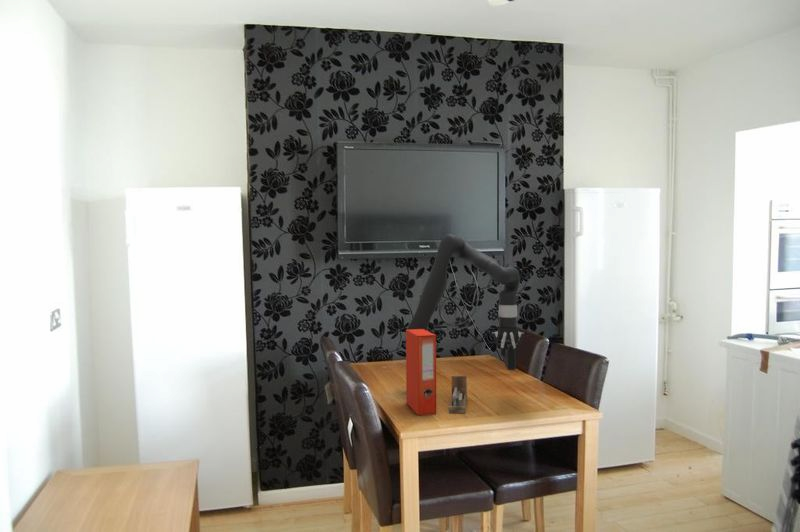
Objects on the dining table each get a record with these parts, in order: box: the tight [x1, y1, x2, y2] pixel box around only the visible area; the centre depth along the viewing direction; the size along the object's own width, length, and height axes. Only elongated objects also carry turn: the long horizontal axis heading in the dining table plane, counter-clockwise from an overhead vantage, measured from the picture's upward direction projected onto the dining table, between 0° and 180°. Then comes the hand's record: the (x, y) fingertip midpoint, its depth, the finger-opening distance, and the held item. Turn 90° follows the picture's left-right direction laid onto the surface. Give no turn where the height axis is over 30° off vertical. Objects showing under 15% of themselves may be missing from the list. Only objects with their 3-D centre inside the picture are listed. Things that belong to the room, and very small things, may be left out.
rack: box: [448, 375, 468, 414], centre depth 240 cm, size 6×22×10 cm, turn 172°
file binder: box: [405, 329, 437, 416], centre depth 236 cm, size 8×17×32 cm, turn 15°
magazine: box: [502, 340, 517, 371], centre depth 235 cm, size 17×3×30 cm
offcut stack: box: [453, 388, 464, 407], centre depth 240 cm, size 3×14×6 cm, turn 172°
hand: (508, 356), depth 236 cm, fingers closed on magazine, 3 cm apart
